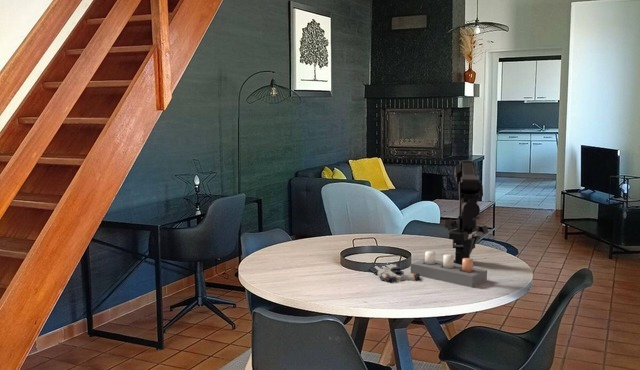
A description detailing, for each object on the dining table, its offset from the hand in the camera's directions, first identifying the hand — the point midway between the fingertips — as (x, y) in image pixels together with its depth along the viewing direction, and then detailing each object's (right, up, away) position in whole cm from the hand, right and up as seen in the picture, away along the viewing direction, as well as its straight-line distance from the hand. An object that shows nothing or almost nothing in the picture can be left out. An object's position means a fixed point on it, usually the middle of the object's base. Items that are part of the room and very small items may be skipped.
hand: (467, 255), depth 225 cm
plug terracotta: (0, -6, +1) cm, 6 cm away
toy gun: (-26, -9, +10) cm, 29 cm away
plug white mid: (-6, -6, +6) cm, 10 cm away
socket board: (-6, -9, +7) cm, 13 cm away
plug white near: (-12, -5, +11) cm, 17 cm away
